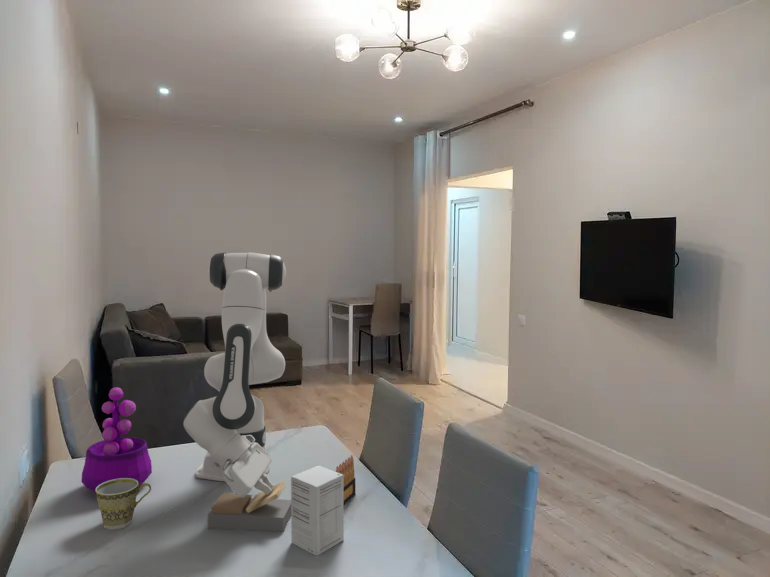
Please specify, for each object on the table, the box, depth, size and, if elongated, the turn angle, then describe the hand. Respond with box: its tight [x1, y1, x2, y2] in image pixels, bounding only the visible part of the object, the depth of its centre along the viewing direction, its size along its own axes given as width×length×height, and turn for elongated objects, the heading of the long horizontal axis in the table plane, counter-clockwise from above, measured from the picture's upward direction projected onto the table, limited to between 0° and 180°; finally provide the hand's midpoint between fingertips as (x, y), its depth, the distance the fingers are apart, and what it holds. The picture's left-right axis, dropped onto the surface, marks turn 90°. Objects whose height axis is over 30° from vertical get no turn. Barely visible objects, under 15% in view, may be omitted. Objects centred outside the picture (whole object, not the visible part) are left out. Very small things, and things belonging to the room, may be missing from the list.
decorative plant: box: [81, 387, 153, 493], centre depth 162 cm, size 19×18×30 cm
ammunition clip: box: [335, 454, 357, 506], centre depth 156 cm, size 11×2×12 cm, turn 157°
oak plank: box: [246, 480, 287, 513], centre depth 144 cm, size 9×8×1 cm
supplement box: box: [290, 465, 345, 557], centre depth 134 cm, size 10×9×17 cm
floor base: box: [207, 493, 291, 533], centre depth 144 cm, size 20×10×5 cm, turn 86°
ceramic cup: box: [95, 478, 152, 531], centre depth 142 cm, size 13×10×10 cm
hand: (271, 491), depth 143 cm, fingers closed, pressing on oak plank
